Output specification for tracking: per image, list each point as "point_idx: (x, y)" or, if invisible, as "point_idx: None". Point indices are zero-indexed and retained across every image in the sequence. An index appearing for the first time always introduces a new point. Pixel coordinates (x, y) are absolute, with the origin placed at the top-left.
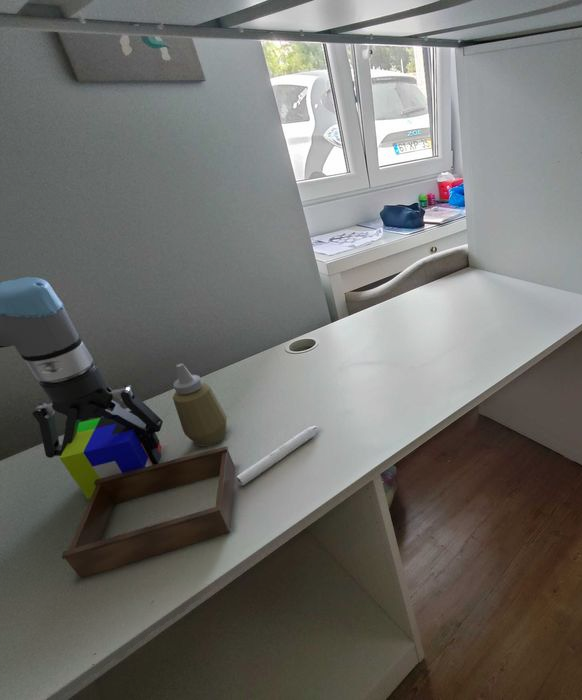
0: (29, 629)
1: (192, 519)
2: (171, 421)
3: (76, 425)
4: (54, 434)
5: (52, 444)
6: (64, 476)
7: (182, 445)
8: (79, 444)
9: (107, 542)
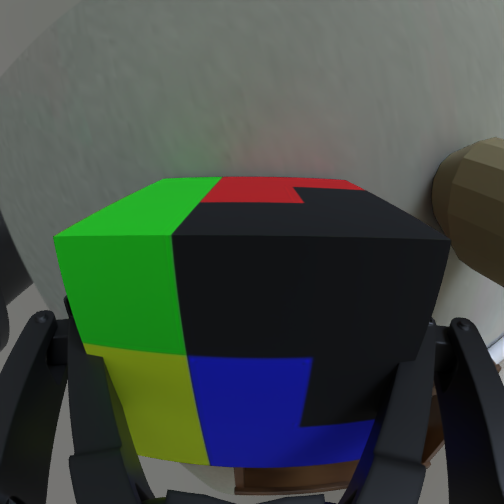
0: (205, 470)
1: None
2: (344, 24)
3: (137, 465)
4: (40, 402)
5: (61, 403)
6: (76, 195)
7: (397, 188)
8: (168, 430)
9: (293, 493)
